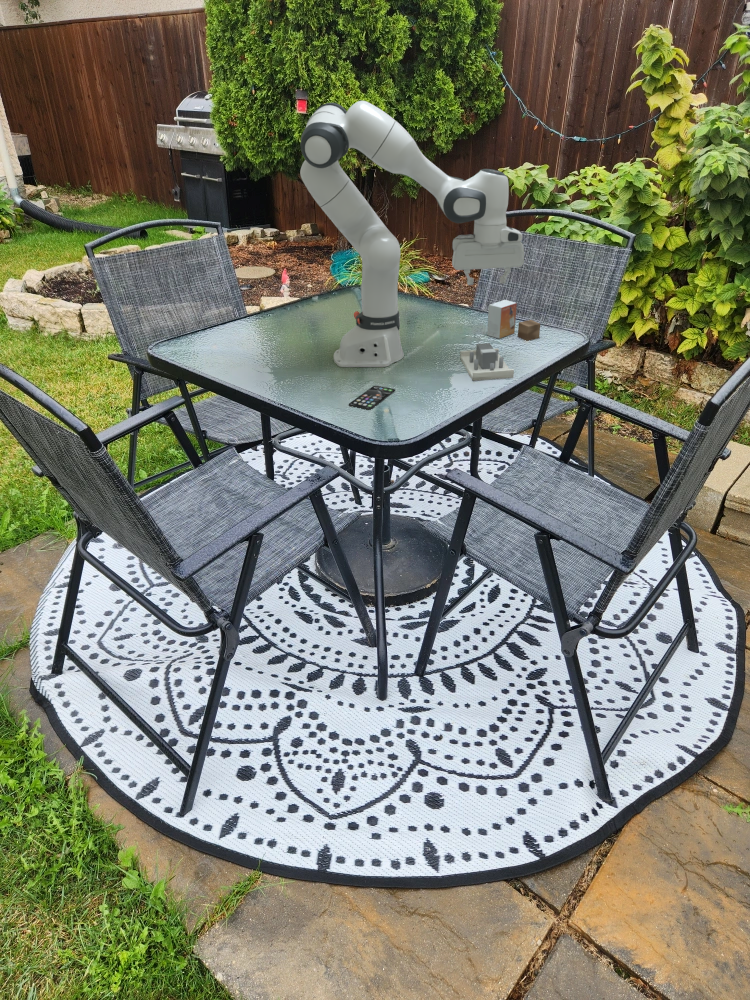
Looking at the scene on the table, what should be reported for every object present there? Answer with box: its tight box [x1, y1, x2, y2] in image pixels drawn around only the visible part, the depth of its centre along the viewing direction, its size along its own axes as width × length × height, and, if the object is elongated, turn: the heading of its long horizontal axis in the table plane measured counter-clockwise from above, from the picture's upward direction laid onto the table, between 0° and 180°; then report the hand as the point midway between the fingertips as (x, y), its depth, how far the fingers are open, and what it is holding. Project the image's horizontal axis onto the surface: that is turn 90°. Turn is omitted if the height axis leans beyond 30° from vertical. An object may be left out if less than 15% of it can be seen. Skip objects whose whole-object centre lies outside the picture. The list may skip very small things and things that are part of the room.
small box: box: [486, 299, 518, 340], centre depth 223 cm, size 8×6×10 cm
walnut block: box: [517, 319, 541, 342], centre depth 221 cm, size 5×5×5 cm
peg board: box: [459, 348, 515, 382], centre depth 201 cm, size 12×18×4 cm, turn 6°
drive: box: [475, 342, 496, 369], centre depth 201 cm, size 4×8×5 cm, turn 6°
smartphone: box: [348, 385, 396, 411], centre depth 187 cm, size 7×1×15 cm
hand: (486, 283), depth 194 cm, fingers open, 8 cm apart
